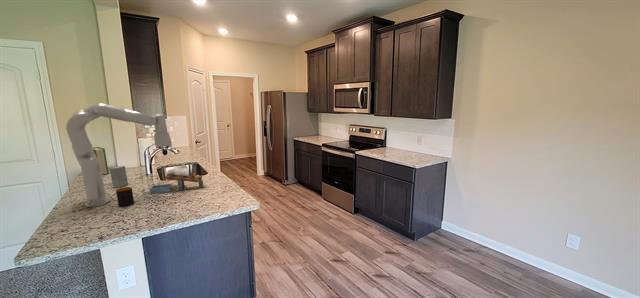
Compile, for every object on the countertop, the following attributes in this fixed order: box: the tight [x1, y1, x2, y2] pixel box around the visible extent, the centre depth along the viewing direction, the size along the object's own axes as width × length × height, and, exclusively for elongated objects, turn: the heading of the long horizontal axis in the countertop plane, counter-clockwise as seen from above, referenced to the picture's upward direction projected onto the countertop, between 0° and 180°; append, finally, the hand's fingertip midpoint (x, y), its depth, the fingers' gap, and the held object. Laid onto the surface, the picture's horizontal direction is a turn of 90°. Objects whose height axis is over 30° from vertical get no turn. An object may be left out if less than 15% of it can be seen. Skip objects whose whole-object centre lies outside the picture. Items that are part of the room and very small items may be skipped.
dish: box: [149, 183, 173, 195], centre depth 198 cm, size 9×13×4 cm
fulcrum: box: [175, 180, 189, 193], centre depth 202 cm, size 6×12×8 cm, turn 17°
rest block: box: [198, 180, 204, 189], centre depth 206 cm, size 5×2×4 cm, turn 17°
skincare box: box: [109, 165, 129, 189], centre depth 210 cm, size 8×7×16 cm
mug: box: [115, 186, 135, 208], centre depth 172 cm, size 8×12×10 cm
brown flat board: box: [164, 171, 203, 184], centre depth 206 cm, size 24×17×4 cm
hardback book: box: [93, 146, 110, 176], centre depth 248 cm, size 18×7×24 cm, turn 55°
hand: (165, 155), depth 203 cm, fingers closed
